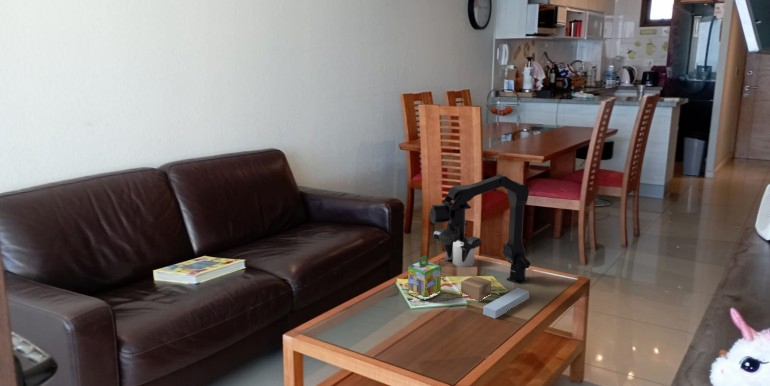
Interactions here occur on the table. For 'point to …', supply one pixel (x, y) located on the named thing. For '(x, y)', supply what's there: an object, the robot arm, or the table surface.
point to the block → (476, 287)
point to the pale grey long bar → (505, 303)
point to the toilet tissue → (460, 255)
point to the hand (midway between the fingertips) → (456, 259)
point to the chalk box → (424, 277)
